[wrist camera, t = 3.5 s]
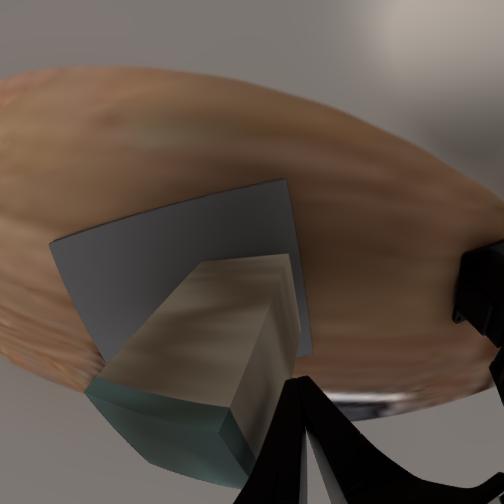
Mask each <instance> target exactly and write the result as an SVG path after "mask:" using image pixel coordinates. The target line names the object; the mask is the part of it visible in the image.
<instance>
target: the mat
mask: <svg viewBox="0 0 504 504" xmlns="http://www.w3.org/2000/svg"><path fill="white" fill-rule="evenodd" d="M49 247H50V249H51V252H52V255H53V257H54V260H55V262H56V265H57V267H58V270H59V272H60V275H61V277H62V279H63V282H64V284H65V286H66V288H67V291H68V293H69V295H70V297H71V299H72V301H73V303H74V305H75V307H76V309H77V311H78V313H79V315H80V317H81V319H82V321H83V323H84V325H85V327H86V329H87V330H88V332H89V334H90V336H91V338H92V339H93V341H94V343H95V345H96V346H97V348H98V350H99V351H100V353H101V355H102V356H103V358H104V360H105V361H106V363H107V364H108V363H109V362H110V361H111V360H112V358H113V357H114V356H115V355H116V354H117V353H118V352H119V351H120V349H121V348H122V347H123V346H124V345H125V344H126V343H127V342H128V340H129V339H130V338H131V337H132V336H133V335H134V334H135V333H136V331H137V330H138V329H139V328H140V327H141V326H142V325H143V324H144V323H145V322H146V320H147V319H148V318H149V317H150V316H151V315H152V314H153V313H154V312H155V311H156V310H157V308H158V307H159V306H160V305H161V304H162V303H163V302H164V301H165V300H166V299H167V298H168V297H169V295H170V294H171V293H172V292H173V291H174V290H175V289H176V288H177V287H178V286H179V285H180V284H181V283H182V282H183V280H184V279H185V278H186V277H187V276H188V275H189V274H190V273H191V272H192V271H193V270H194V269H195V268H196V267H197V266H198V265H199V264H200V263H201V262H202V261H213V260H224V259H235V258H246V257H257V256H267V255H278V254H289V258H290V264H291V270H292V275H293V281H294V287H295V294H296V300H297V306H298V312H299V319H300V325H301V335H300V340H299V345H298V350H297V354H296V358H298V357H303V356H307V355H312V354H313V348H312V340H311V331H310V323H309V316H308V308H307V301H306V294H305V287H304V280H303V273H302V266H301V260H300V254H299V247H298V241H297V235H296V230H295V224H294V218H293V212H292V207H291V201H290V196H289V191H288V185H287V180H286V179H285V178H284V179H279V180H274V181H269V182H264V183H259V184H254V185H249V186H245V187H240V188H236V189H231V190H227V191H222V192H218V193H214V194H210V195H206V196H201V197H197V198H193V199H189V200H186V201H182V202H178V203H174V204H170V205H167V206H163V207H159V208H156V209H152V210H149V211H145V212H142V213H138V214H135V215H131V216H128V217H125V218H121V219H118V220H115V221H112V222H108V223H105V224H102V225H99V226H96V227H93V228H90V229H87V230H84V231H81V232H78V233H75V234H72V235H69V236H66V237H64V238H61V239H58V240H55V241H53V242H51V243H50V244H49Z"/></svg>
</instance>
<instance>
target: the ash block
mask: <svg viewBox="0 0 504 504" xmlns="http://www.w3.org/2000/svg"><path fill="white" fill-rule="evenodd" d="M300 335H301V325H300V319H299V312H298V306H297V300H296V294H295V287H294V281H293V275H292V270H291V264H290V258H289V254H278V255H267V256H257V257H246V258H235V259H224V260H213V261H202V262H201V263H200V264H199V265H198V266H197V267H196V268H195V269H194V270H193V271H192V272H191V273H190V274H189V275H188V276H187V277H186V278H185V279H184V280H183V282H182V283H181V284H180V285H179V286H178V287H177V288H176V289H175V290H174V291H173V292H172V293H171V294H170V295H169V297H168V298H167V299H166V300H165V301H164V302H163V303H162V304H161V305H160V306H159V307H158V308H157V310H156V311H155V312H154V313H153V314H152V315H151V316H150V317H149V318H148V319H147V320H146V322H145V323H144V324H143V325H142V326H141V327H140V328H139V329H138V330H137V331H136V333H135V334H134V335H133V336H132V337H131V338H130V339H129V340H128V342H127V343H126V344H125V345H124V346H123V347H122V348H121V349H120V351H119V352H118V353H117V354H116V355H115V356H114V357H113V358H112V360H111V361H110V362H109V363H108V364H107V365H106V366H105V368H104V369H103V370H102V371H101V372H100V373H99V375H98V376H97V377H96V378H95V379H94V380H93V381H92V383H91V384H90V385H89V386H88V387H87V388H86V390H85V391H84V393H85V394H86V396H87V397H88V398H89V399H90V401H91V402H92V403H93V404H94V406H95V407H96V408H97V409H98V410H99V412H100V413H101V414H102V415H103V416H104V417H105V419H107V421H108V422H109V423H110V424H111V425H112V426H113V428H114V429H115V430H116V431H117V432H118V433H119V434H120V435H121V436H122V437H123V438H124V439H125V440H126V441H127V442H128V443H129V444H130V445H131V446H132V447H133V448H134V449H135V450H136V451H137V452H138V453H139V454H140V455H141V456H142V457H143V458H144V459H146V460H147V461H148V462H149V463H151V464H153V465H156V466H158V467H161V468H164V469H167V470H170V471H172V472H175V473H179V474H182V475H185V476H188V477H192V478H195V479H198V480H202V481H206V482H210V483H214V484H218V485H222V486H226V487H231V488H236V489H241V490H242V489H243V487H244V485H245V484H246V482H247V480H248V478H249V476H250V474H251V472H252V470H253V468H254V465H255V463H256V461H257V458H258V456H259V455H260V451H261V448H262V445H263V443H264V440H265V437H266V435H267V432H268V429H269V426H270V423H271V421H272V418H273V415H274V412H275V409H276V406H277V403H278V400H279V397H280V394H281V391H282V388H283V385H284V382H285V380H287V379H291V377H292V373H293V368H294V364H295V359H296V354H297V350H298V345H299V340H300Z"/></svg>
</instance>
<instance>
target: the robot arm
mask: <svg viewBox="0 0 504 504" xmlns="http://www.w3.org/2000/svg"><path fill="white" fill-rule="evenodd" d="M467 259H468V260H467ZM464 320H468V321H469V322H470V323H471V324H472V325H473V326H474V328H475V329H476V330H477V331H478V332H479V333H480V334H481V335H482V336H484V335H486V336H487V337H488V338H489V339H490V340H491V342H492V343H493V344H494V345H495V346H496V347H497V348H499V347H501V348H500V350H499V352H498V354H497V356H496V357H495V359H494V361H492V363H491V364H490V366H489V369H490V372H491V374H492V377H493V379H494V382H495V384H496V387H497V390H498V392H499V395H500V398H501V401H502V404H503V406H504V240H502V241H499V242H497V243H494V244H491V245H488V246H485V247H482V248H479V249H476V250H473V251H470V252H467V253H465V254H464V255H463V257H462V263H461V272H460V279H459V286H458V292H457V298H456V304H455V309H454V314H453V321H454V322H455V323H456V324H458V323H460V322H462V321H464ZM305 427H306V428H305ZM306 431H307V434H308V437H309V440H310V443H311V446H312V449H313V452H314V455H315V458H316V461H317V463H318V466H319V469H320V472H321V475H322V478H323V481H324V484H325V487H326V489H327V492H328V495H329V498H330V501H331V504H504V493H503V492H504V473H502V472H498V473H497V474H495V475H494V476H492V477H491V478H490V479H488V480H487V481H486V482H484V483H483V484H481V485H479V486H477V487H474V488H460V487H455V486H449V485H444V484H439V483H435V482H430V481H426V480H422V479H420V478H418V477H416V476H414V475H412V474H411V473H409V472H408V471H406V470H405V469H403V468H402V467H401V466H399V465H398V464H397V463H395V462H394V461H392V460H391V459H390V458H388V457H387V456H386V455H384V454H383V453H382V452H381V451H379V450H378V449H377V448H376V447H375V446H374V445H373V444H372V443H370V442H369V441H368V440H367V439H366V437H365V436H364V435H363V434H360V431H359V430H358V429H357V428H356V427H355V426H354V425H353V424H352V423H351V422H350V421H349V420H348V419H347V418H346V416H345V415H344V414H343V413H342V412H341V411H340V410H339V409H338V408H337V407H336V406H335V405H334V404H333V402H332V401H331V400H330V399H329V398H328V397H327V396H326V395H325V394H324V393H323V391H322V390H321V389H320V388H319V387H318V386H317V385H316V384H315V383H314V381H313V380H312V379H311V378H310V377H309V376H301V377H298V378H297V379H296V378H292V379H287V380H285V382H284V385H283V388H282V391H281V394H280V397H279V400H278V403H277V406H276V409H275V412H274V415H273V418H272V421H271V423H270V426H269V429H268V432H267V435H266V437H265V440H264V443H263V445H262V448H261V451H260V455H259V456H258V458H257V461H256V463H255V465H254V468H253V470H252V472H251V474H250V476H249V478H248V480H247V482H246V484H245V485H244V487H243V489H242V490H241V492H240V494H239V495H238V497H237V498H236V500H235V501H234V503H233V504H307V442H306ZM501 493H503V494H502V495H501V496H499V495H500V494H501Z"/></svg>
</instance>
